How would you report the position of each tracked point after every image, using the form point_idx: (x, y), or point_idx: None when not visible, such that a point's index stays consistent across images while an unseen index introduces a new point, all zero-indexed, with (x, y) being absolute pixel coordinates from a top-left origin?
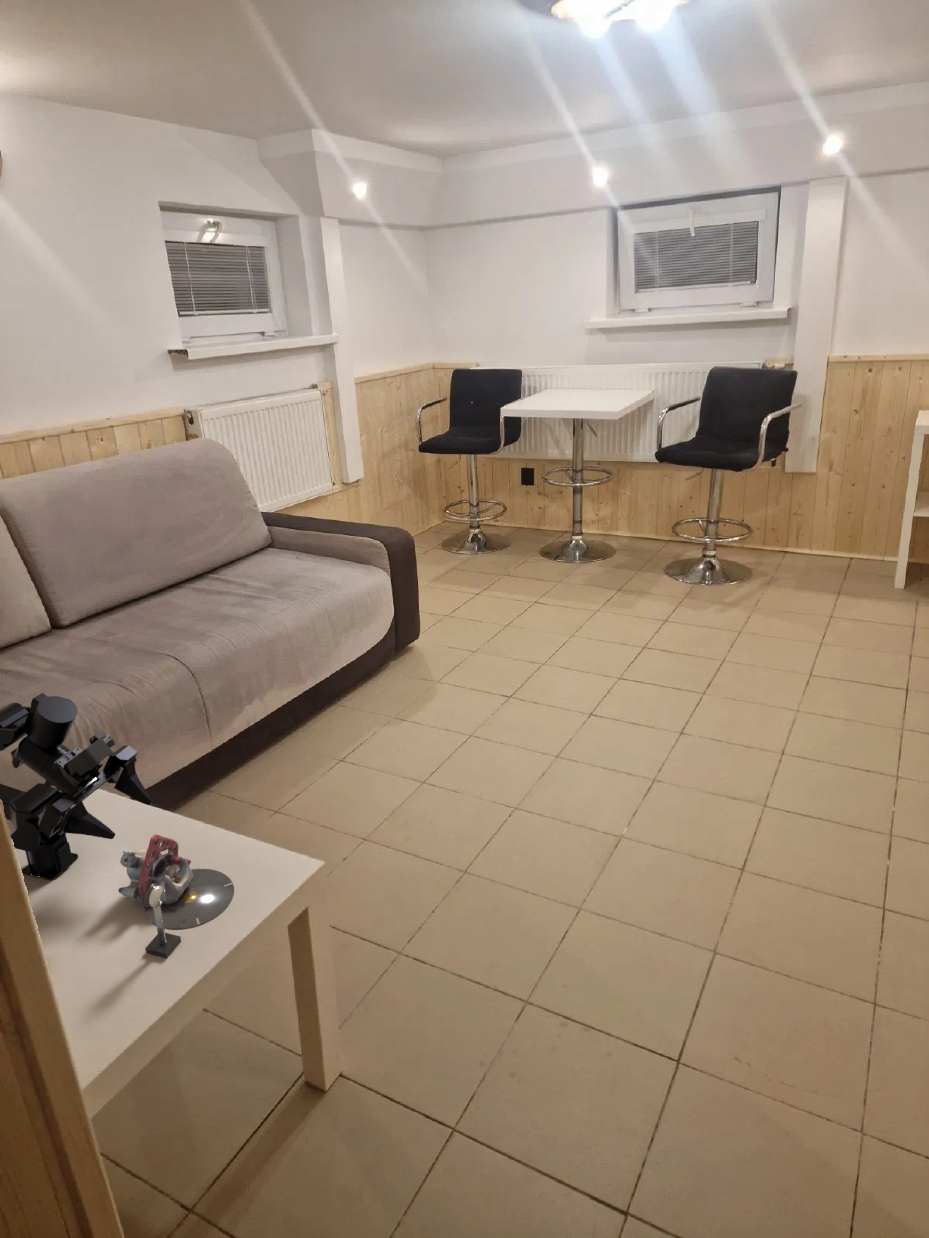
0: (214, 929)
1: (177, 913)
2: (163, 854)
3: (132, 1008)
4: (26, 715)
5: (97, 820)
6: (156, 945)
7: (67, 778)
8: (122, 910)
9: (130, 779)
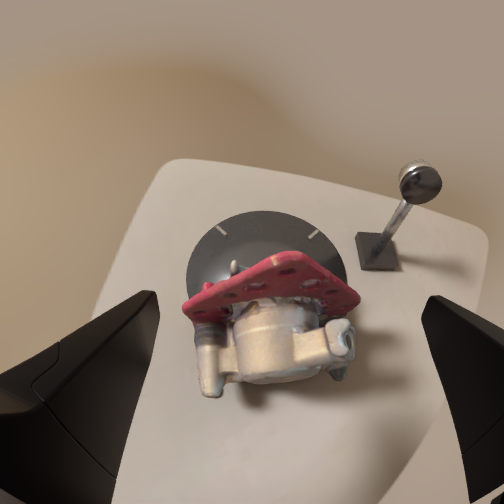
0: (315, 209)
1: None
2: (208, 343)
3: (446, 238)
4: None
5: (501, 339)
6: (386, 253)
7: None
8: None
9: (50, 404)
